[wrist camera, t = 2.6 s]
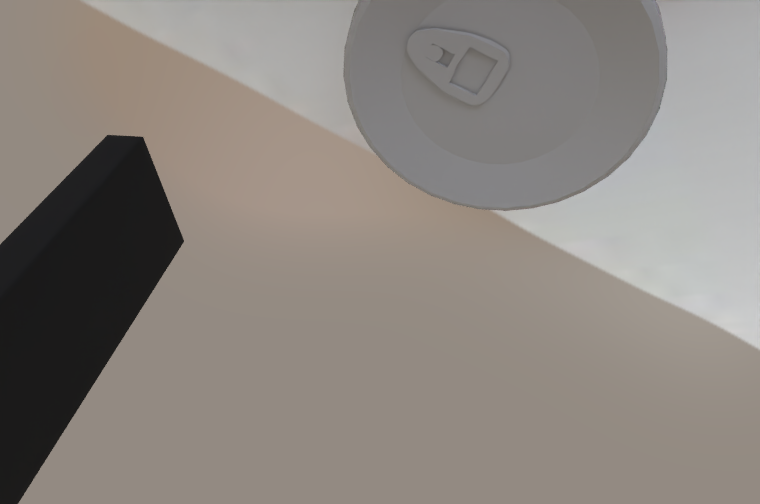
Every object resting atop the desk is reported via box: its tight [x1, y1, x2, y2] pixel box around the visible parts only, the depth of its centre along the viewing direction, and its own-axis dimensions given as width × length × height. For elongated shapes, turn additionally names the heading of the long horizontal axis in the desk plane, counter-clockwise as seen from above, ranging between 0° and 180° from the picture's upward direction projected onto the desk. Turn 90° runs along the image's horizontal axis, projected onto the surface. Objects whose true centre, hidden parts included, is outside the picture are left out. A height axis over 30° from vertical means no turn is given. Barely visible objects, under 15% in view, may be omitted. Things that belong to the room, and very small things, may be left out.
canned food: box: [344, 0, 667, 211], centre depth 18 cm, size 8×8×11 cm
